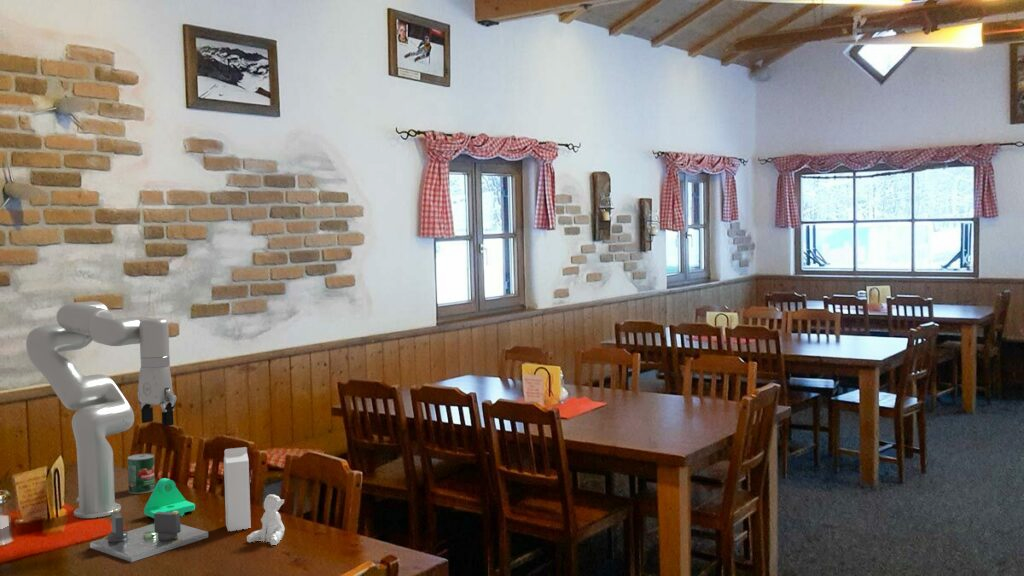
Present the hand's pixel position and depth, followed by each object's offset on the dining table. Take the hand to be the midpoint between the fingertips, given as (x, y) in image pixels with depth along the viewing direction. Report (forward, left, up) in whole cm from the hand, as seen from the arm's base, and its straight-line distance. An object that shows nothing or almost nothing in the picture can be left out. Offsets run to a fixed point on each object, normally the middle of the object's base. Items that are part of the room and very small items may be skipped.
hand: (157, 423), depth 249 cm
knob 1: (+7, -17, -27) cm, 32 cm away
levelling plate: (+12, -11, -28) cm, 33 cm away
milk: (+21, +10, -28) cm, 37 cm away
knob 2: (+17, -9, -27) cm, 33 cm away
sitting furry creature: (+37, +8, -29) cm, 47 cm away
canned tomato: (-37, +17, -28) cm, 50 cm away
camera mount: (-6, +7, -29) cm, 30 cm away
